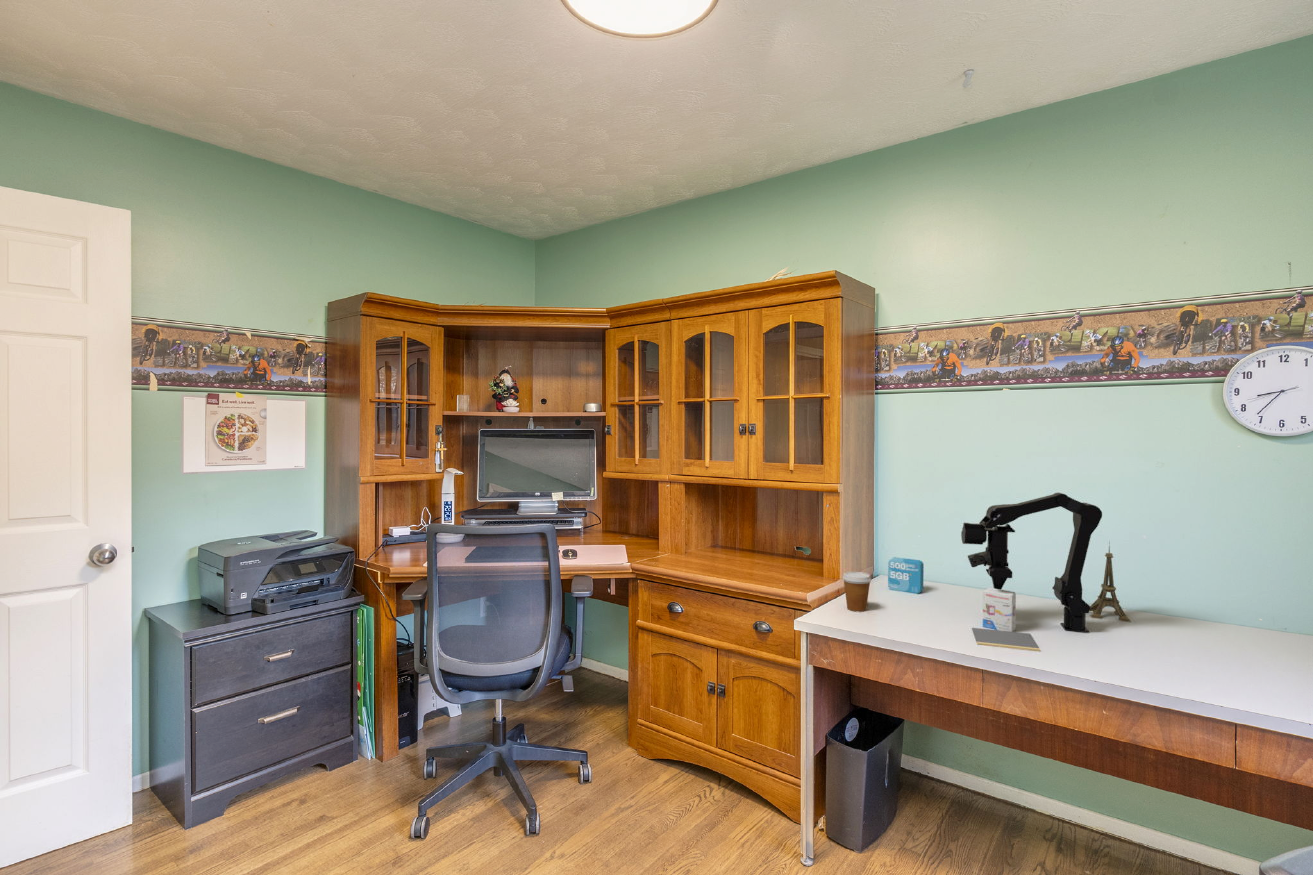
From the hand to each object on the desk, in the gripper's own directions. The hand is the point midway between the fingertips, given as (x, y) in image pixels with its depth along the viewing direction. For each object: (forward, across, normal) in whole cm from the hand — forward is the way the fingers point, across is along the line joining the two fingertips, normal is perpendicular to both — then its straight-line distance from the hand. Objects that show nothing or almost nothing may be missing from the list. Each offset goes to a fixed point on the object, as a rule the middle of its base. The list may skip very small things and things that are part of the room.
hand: (996, 593), depth 206 cm
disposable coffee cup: (+10, 0, -43) cm, 44 cm away
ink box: (+10, +5, 0) cm, 11 cm away
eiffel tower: (+10, -22, +36) cm, 43 cm away
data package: (+10, -32, -27) cm, 43 cm away
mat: (+10, +17, 0) cm, 19 cm away
